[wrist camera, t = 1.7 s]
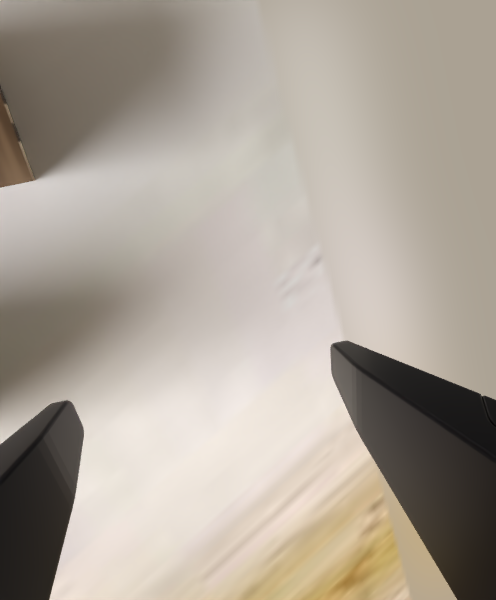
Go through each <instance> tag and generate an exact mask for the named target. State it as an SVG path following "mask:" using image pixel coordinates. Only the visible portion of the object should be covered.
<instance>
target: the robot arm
mask: <svg viewBox="0 0 496 600" xmlns="http://www.w3.org/2000/svg"><path fill="white" fill-rule="evenodd" d="M331 371H332V376H333V379H334V381H335V384H336V386H337V388H338V390H339V393H340V395H341V397H342V399H343V401H344V404H345V406H346V408H347V410H348V413H349V415H350V417H351V419H352V421H353V424H354V426H355V428H356V430H357V432H358V434H359V435H360V437H361V439H362V441H363V442H364V444H365V446H366V447H367V449H368V451H369V452H370V454H371V456H372V457H373V459H374V461H375V462H376V464H377V466H378V467H379V469H380V471H381V472H382V474H383V476H384V478H385V479H386V481H387V483H388V484H389V486H390V487H391V489H392V491H393V492H394V494H395V496H396V498H397V499H398V501H399V503H400V504H401V506H402V508H403V509H404V511H405V513H406V514H407V516H408V518H409V519H410V521H411V523H412V524H413V526H414V528H415V530H416V531H417V533H418V534H419V536H420V538H421V539H422V541H423V543H424V544H425V546H426V548H427V550H428V551H429V553H430V555H431V556H432V558H433V560H434V561H435V563H436V565H437V566H438V568H439V570H440V571H441V573H442V575H443V576H444V578H445V580H446V582H447V583H448V585H449V587H450V588H451V590H452V591H453V593H454V595H455V597H456V598H457V600H496V400H494V399H492V398H490V397H487V396H481V394H479V393H477V392H474V391H472V390H469V389H467V388H464V387H462V386H459V385H457V384H454V383H452V382H449V381H447V380H444V379H442V378H439V377H437V376H434V375H432V374H429V373H427V372H424V371H422V370H419V369H417V368H414V367H412V366H409V365H407V364H404V363H402V362H399V361H397V360H394V359H392V358H389V357H387V356H384V355H382V354H379V353H377V352H374V351H371V350H369V349H367V348H364V347H362V346H359V345H357V344H354V343H352V342H349V341H342V342H337V343H333V344H332V345H331ZM83 438H84V429H83V426H82V423H81V421H80V419H79V416H78V414H77V412H76V410H75V408H74V405H73V404H72V402H70V401H68V400H66V401H61V402H57V403H52V404H50V405H49V406H47V407H46V408H45V409H44V410H43V411H41V412H40V413H39V414H38V415H36V416H35V417H34V418H33V419H31V420H30V421H29V422H28V423H26V424H25V425H24V426H23V427H21V428H20V429H19V430H18V431H16V432H15V433H14V434H13V435H12V436H10V437H9V438H8V439H7V440H5V441H4V442H3V443H2V444H0V600H49V598H50V594H51V590H52V586H53V582H54V578H55V575H56V571H57V567H58V563H59V559H60V555H61V551H62V547H63V543H64V539H65V535H66V531H67V528H68V524H69V520H70V516H71V512H72V508H73V503H74V499H75V493H76V488H77V481H78V473H79V466H80V459H81V452H82V445H83Z"/></svg>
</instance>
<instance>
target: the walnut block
mask: <svg viewBox="0 0 496 600" xmlns="http://www.w3.org/2000/svg"><path fill="white" fill-rule="evenodd" d="M34 180H35V178H34V175H33V173H32V170H31V167H30V165H29V162H28V159H27V157H26V154H25V151H24V149H23V146H22V143H21V141H20V138H19V135H18V133H17V130H16V127H15V125H14V122H13V119H12V117H11V114H10V111H9V109H8V106H7V103H6V100H5V98H4V95H3V92H2V90H1V87H0V188H1V187H5V186H10V185H15V184H20V183H25V182H29V181H34Z"/></svg>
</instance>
